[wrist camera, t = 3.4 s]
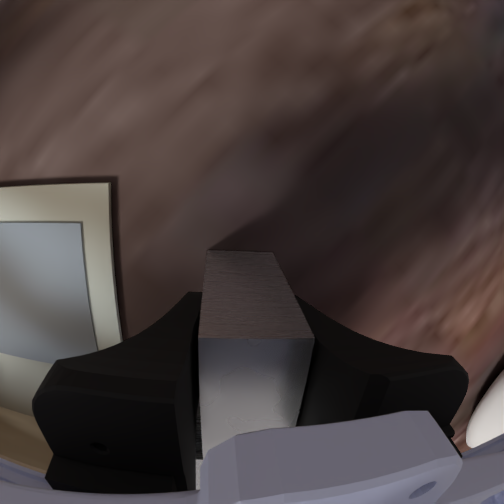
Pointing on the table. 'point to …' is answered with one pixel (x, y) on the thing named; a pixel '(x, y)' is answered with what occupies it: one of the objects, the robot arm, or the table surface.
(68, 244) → the arena
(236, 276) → the bracket
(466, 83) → the table surface
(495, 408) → the flower in vase
